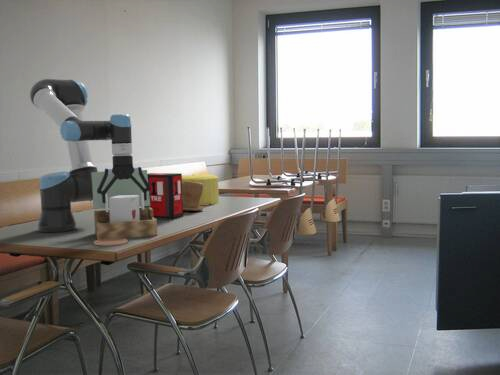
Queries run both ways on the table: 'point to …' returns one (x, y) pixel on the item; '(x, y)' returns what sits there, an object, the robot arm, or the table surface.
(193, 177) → the cheese
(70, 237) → the table surface
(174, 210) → the cleaning product box
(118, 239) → the tan round disc
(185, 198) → the brown tapered block
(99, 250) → the table surface
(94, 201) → the sage green board
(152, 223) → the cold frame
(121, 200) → the supplement box
